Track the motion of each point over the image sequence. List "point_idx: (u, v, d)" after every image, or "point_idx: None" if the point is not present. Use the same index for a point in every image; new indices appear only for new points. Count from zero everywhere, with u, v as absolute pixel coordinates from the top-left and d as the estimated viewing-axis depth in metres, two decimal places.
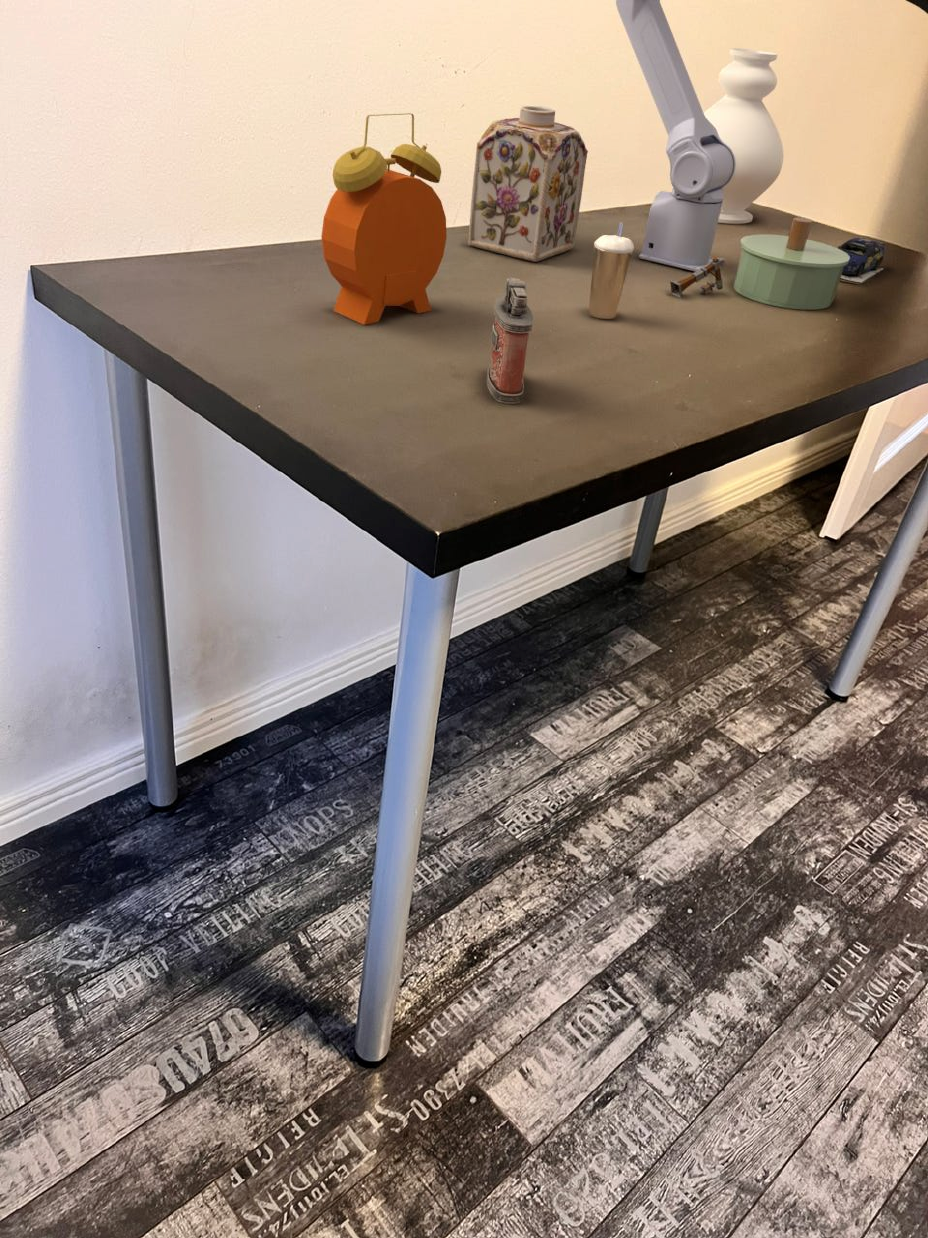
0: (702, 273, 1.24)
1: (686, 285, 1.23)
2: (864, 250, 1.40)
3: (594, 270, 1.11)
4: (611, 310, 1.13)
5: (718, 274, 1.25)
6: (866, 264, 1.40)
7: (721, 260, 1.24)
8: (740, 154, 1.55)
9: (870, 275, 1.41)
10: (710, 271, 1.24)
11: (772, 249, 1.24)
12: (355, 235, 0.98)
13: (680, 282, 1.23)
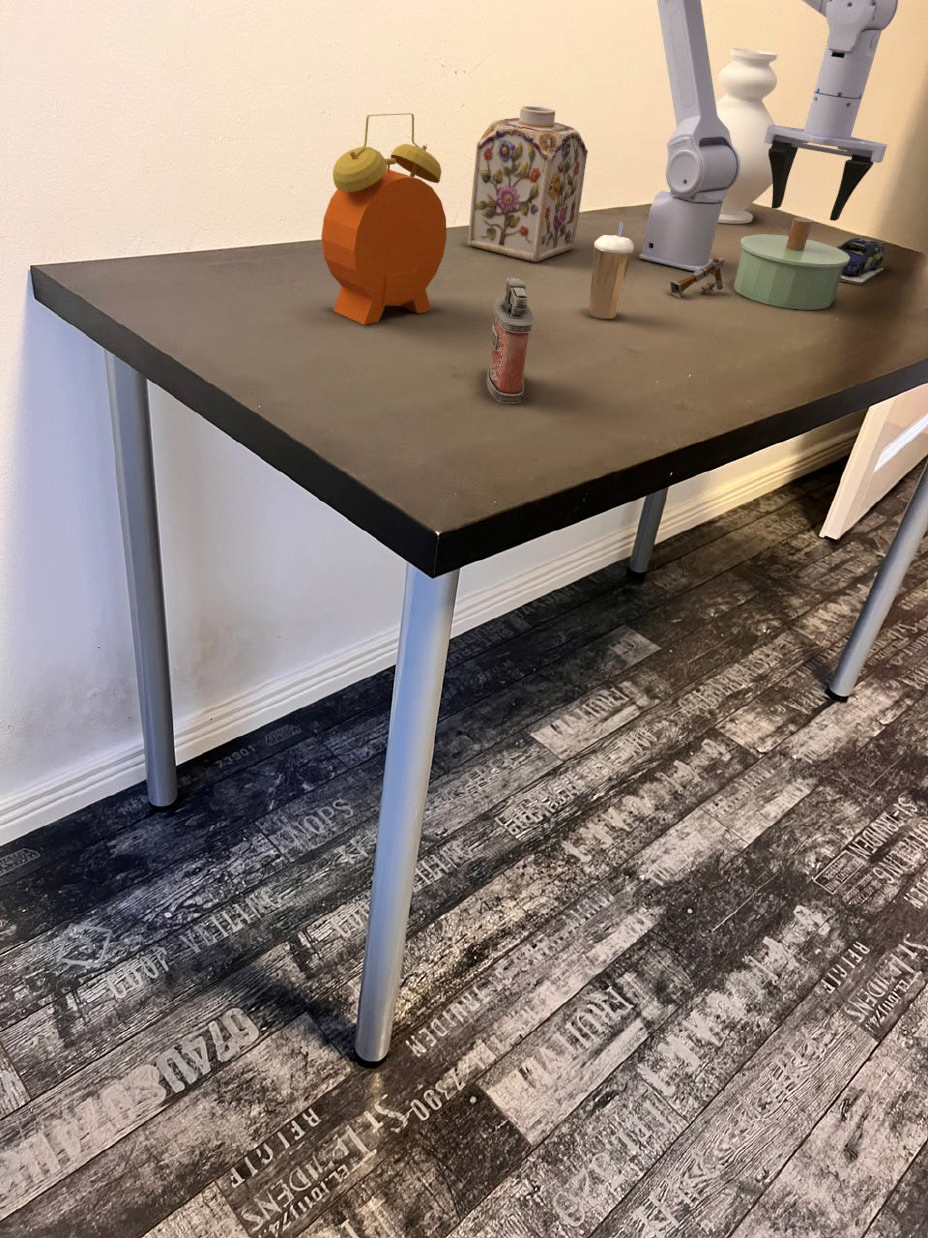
0: (702, 273, 1.24)
1: (686, 285, 1.23)
2: (864, 250, 1.40)
3: (594, 270, 1.11)
4: (611, 310, 1.13)
5: (718, 274, 1.25)
6: (866, 264, 1.40)
7: (721, 260, 1.24)
8: (740, 154, 1.55)
9: (870, 275, 1.41)
10: (710, 271, 1.24)
11: (772, 249, 1.24)
12: (355, 235, 0.98)
13: (680, 282, 1.23)
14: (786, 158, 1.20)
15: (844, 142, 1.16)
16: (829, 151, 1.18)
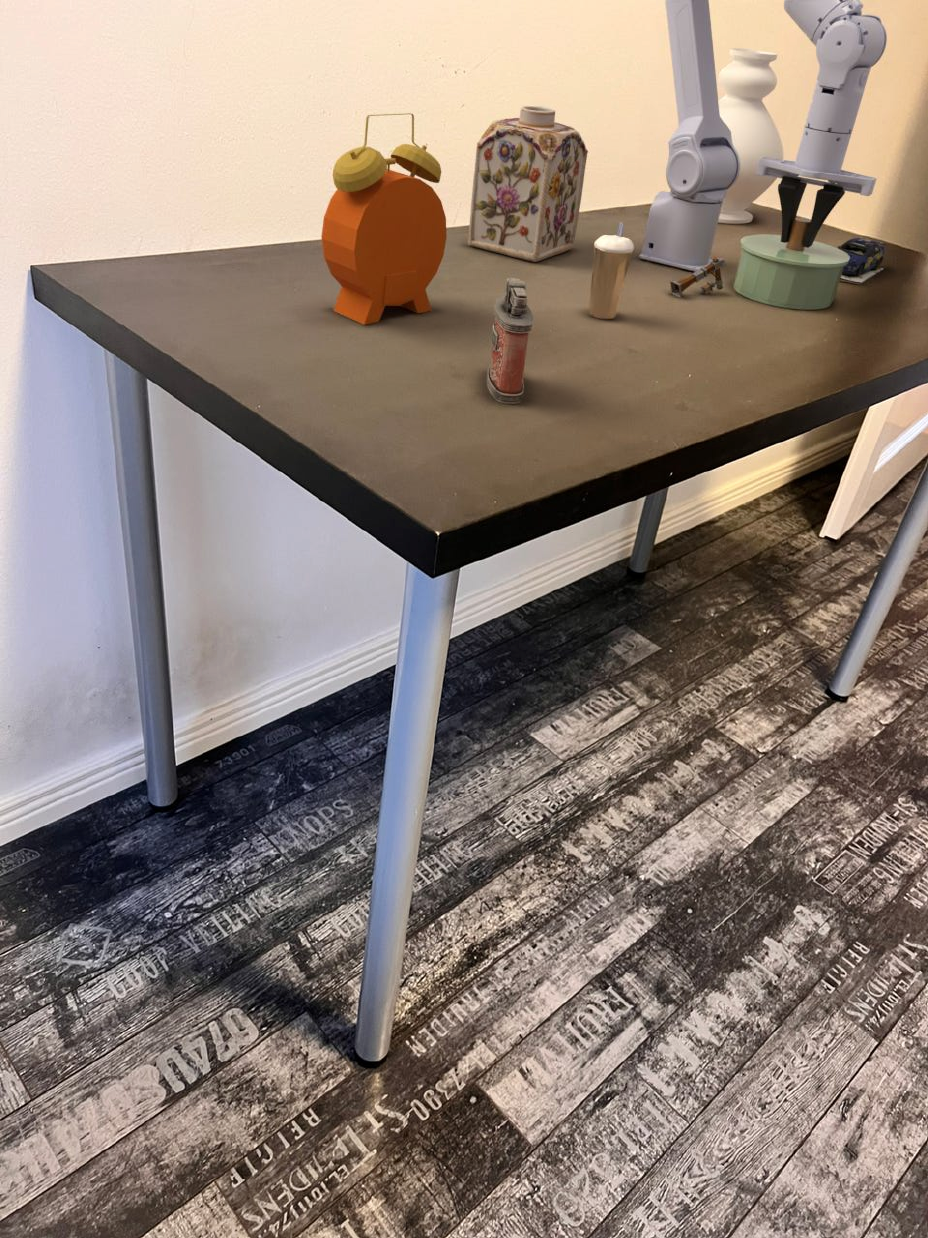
0: (702, 273, 1.24)
1: (686, 285, 1.23)
2: (864, 250, 1.40)
3: (594, 270, 1.11)
4: (611, 310, 1.13)
5: (718, 274, 1.25)
6: (866, 264, 1.40)
7: (721, 260, 1.24)
8: (740, 154, 1.55)
9: (870, 275, 1.41)
10: (710, 271, 1.24)
11: (772, 249, 1.24)
12: (355, 235, 0.98)
13: (680, 282, 1.23)
14: (795, 194, 1.21)
15: (834, 176, 1.18)
16: (820, 184, 1.21)
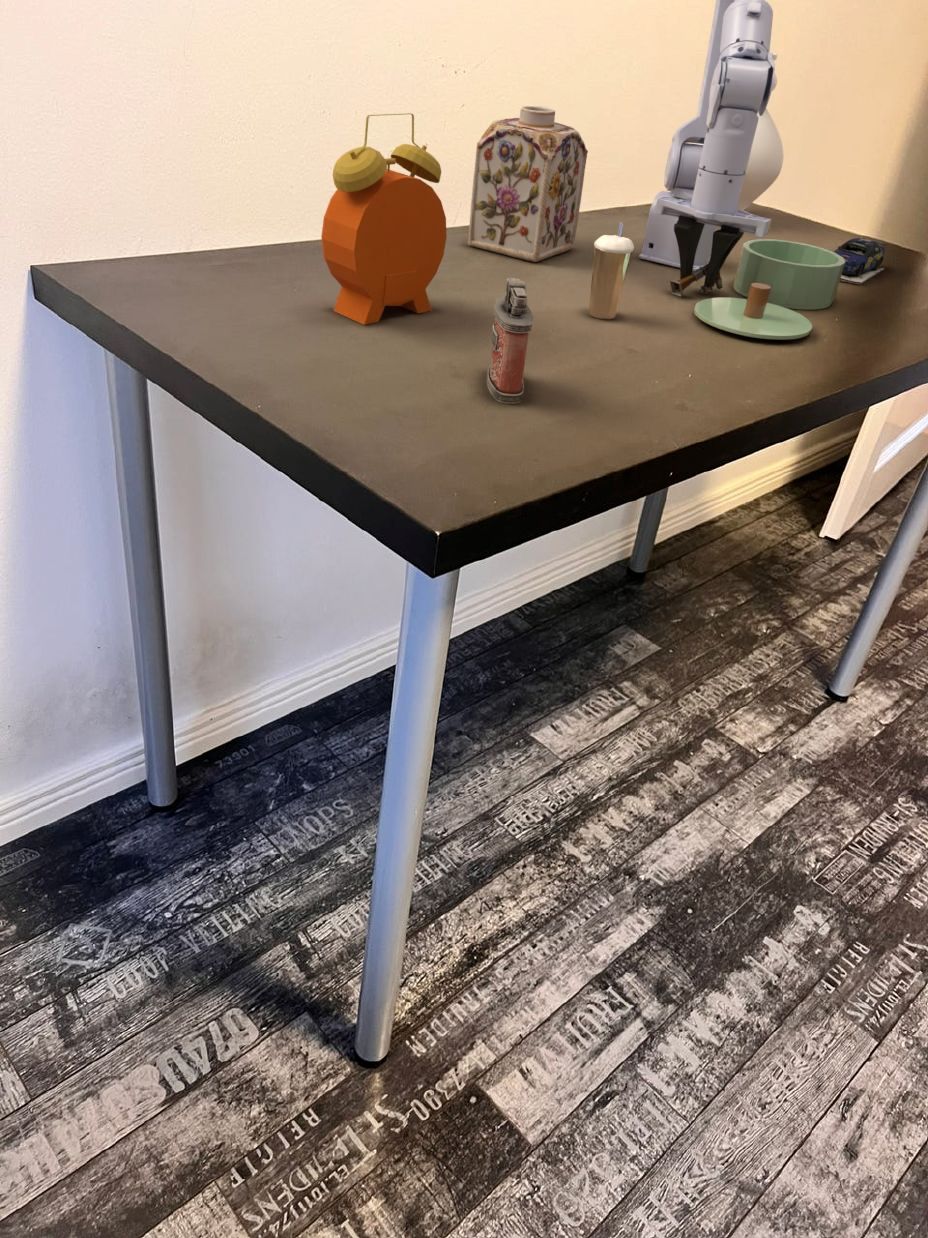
0: (701, 272, 1.24)
1: (686, 284, 1.23)
2: (864, 250, 1.40)
3: (594, 270, 1.11)
4: (611, 310, 1.13)
5: None
6: (866, 264, 1.40)
7: None
8: None
9: (870, 275, 1.41)
10: None
11: (728, 317, 1.14)
12: (355, 235, 0.98)
13: (680, 281, 1.23)
14: (691, 234, 1.21)
15: (728, 217, 1.17)
16: (716, 224, 1.20)
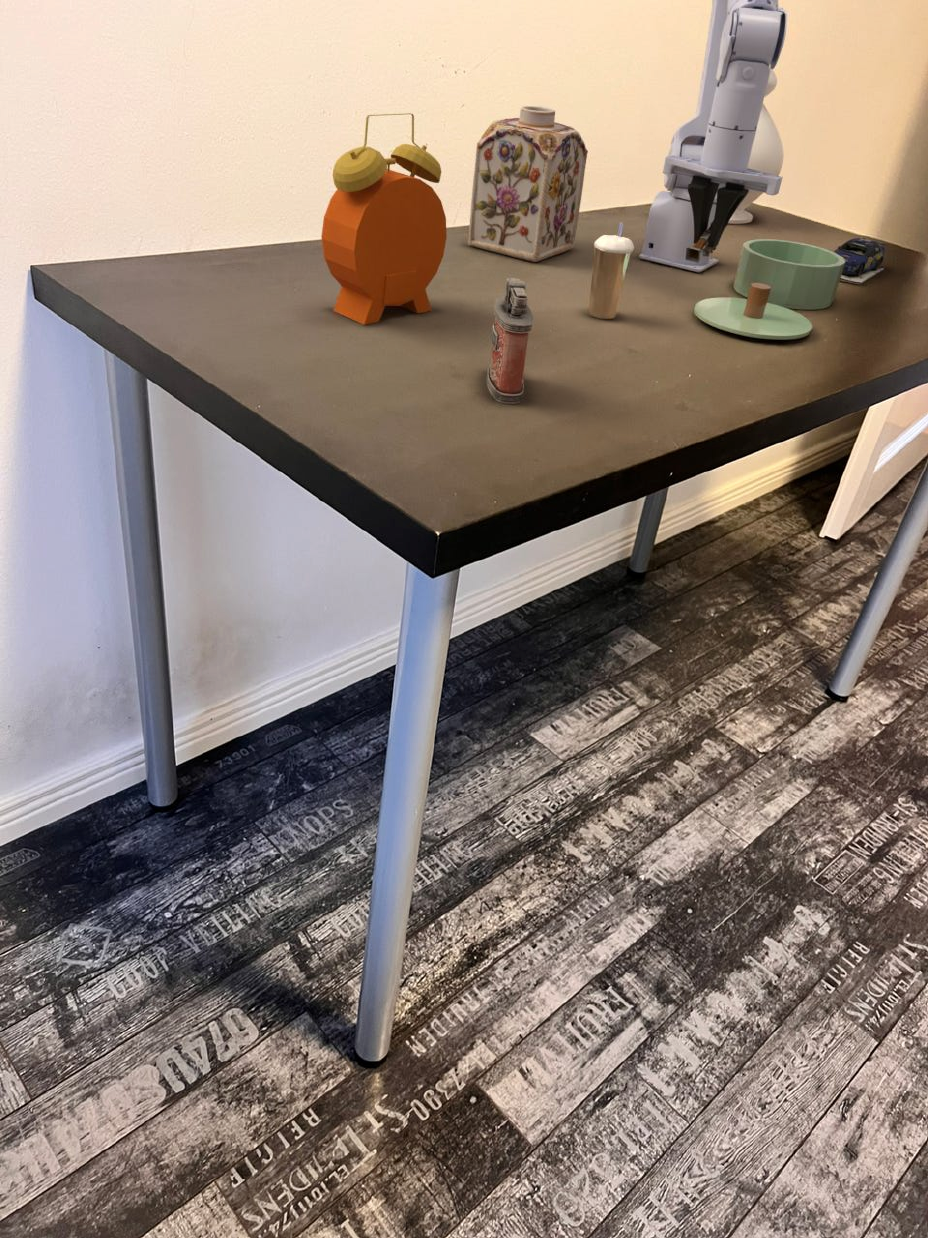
0: None
1: (700, 250, 1.20)
2: (864, 250, 1.40)
3: (594, 270, 1.11)
4: (611, 310, 1.13)
5: None
6: (866, 264, 1.40)
7: None
8: None
9: (870, 275, 1.41)
10: None
11: (728, 317, 1.14)
12: (355, 235, 0.98)
13: (696, 247, 1.20)
14: (706, 194, 1.18)
15: (738, 174, 1.14)
16: (726, 183, 1.17)
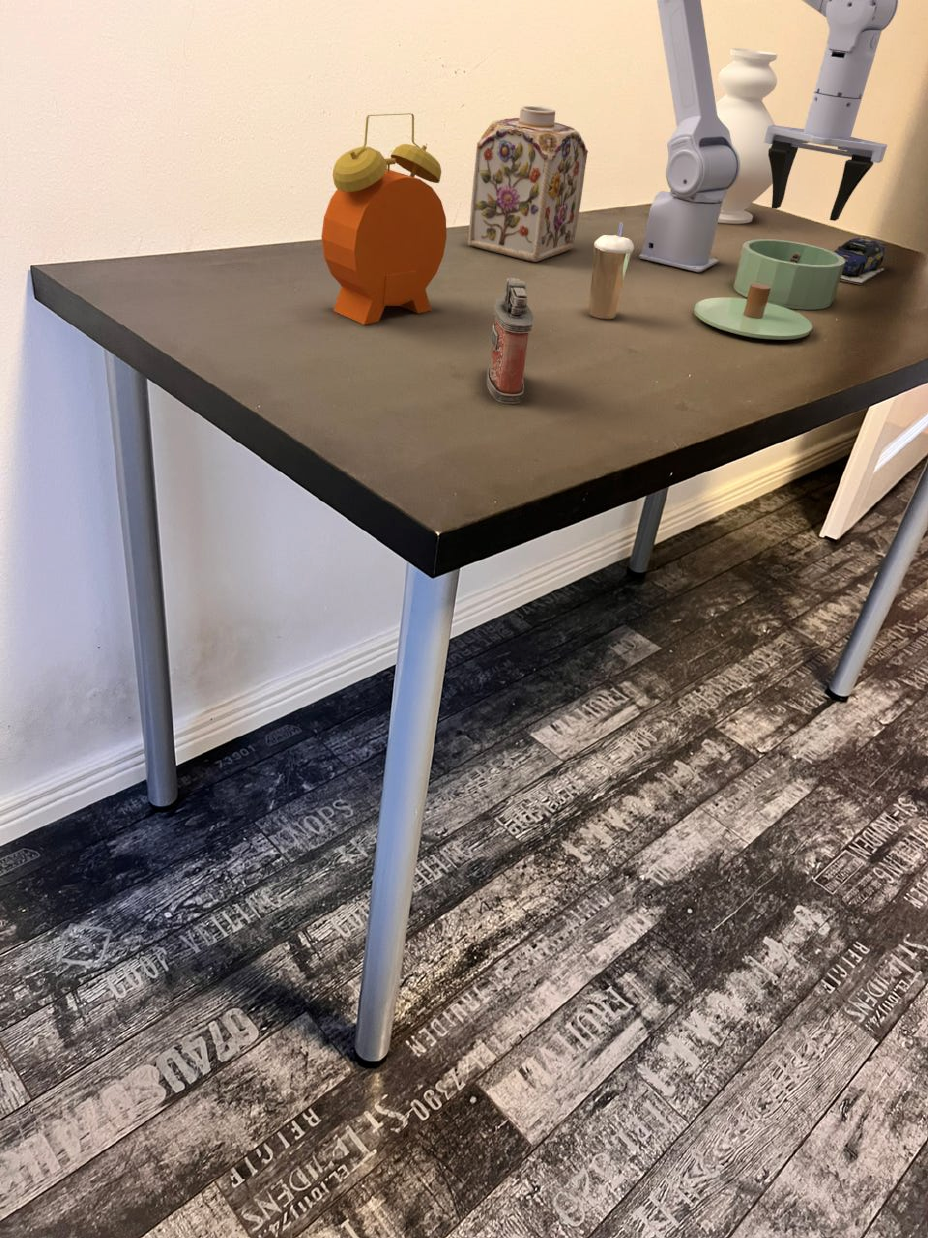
0: None
1: None
2: (864, 250, 1.40)
3: (594, 270, 1.11)
4: (611, 310, 1.13)
5: None
6: (866, 264, 1.40)
7: (800, 255, 1.28)
8: (740, 154, 1.55)
9: (870, 275, 1.41)
10: None
11: (728, 317, 1.14)
12: (355, 235, 0.98)
13: None
14: (786, 158, 1.20)
15: (844, 142, 1.16)
16: (829, 151, 1.18)
